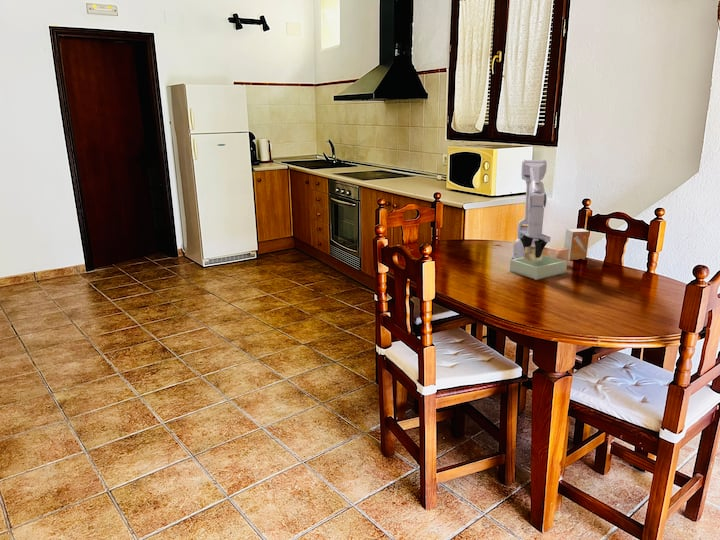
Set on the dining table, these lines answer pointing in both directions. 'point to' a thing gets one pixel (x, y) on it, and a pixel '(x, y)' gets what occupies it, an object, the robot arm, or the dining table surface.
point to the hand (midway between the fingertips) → (532, 255)
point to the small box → (576, 243)
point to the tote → (538, 267)
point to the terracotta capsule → (562, 254)
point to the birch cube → (531, 254)
